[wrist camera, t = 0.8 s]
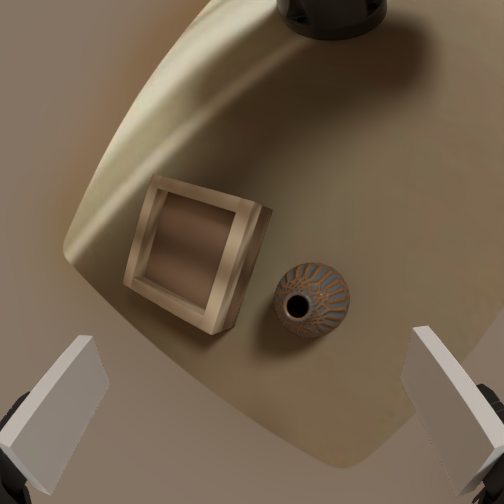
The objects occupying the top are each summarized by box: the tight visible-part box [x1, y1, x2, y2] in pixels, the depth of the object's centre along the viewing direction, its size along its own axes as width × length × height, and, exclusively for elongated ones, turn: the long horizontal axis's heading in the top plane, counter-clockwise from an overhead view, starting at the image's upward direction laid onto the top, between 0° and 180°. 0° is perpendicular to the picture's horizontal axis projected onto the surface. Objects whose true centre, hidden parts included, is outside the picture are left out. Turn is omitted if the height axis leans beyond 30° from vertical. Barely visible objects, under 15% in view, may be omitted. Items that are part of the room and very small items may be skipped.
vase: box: [274, 263, 350, 337], centre depth 28 cm, size 7×7×9 cm
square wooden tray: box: [123, 174, 272, 335], centre depth 36 cm, size 14×14×5 cm
